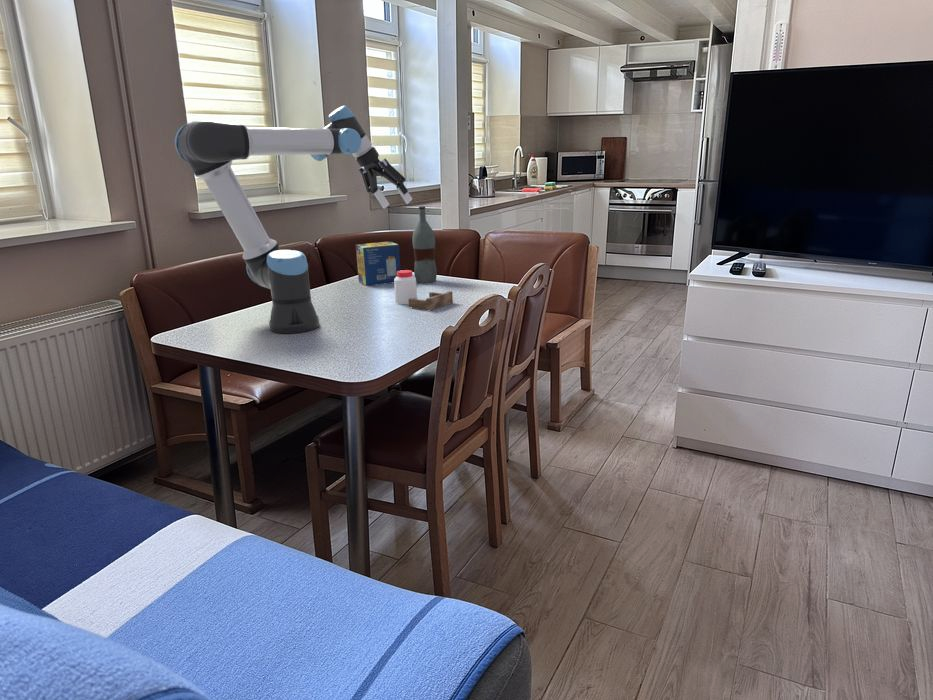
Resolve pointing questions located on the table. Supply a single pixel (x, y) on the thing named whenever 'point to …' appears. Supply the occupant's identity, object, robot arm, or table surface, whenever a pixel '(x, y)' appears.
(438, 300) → the dock
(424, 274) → the grey-green bottle
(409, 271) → the pill bottle
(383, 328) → the table surface
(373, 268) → the protein box
